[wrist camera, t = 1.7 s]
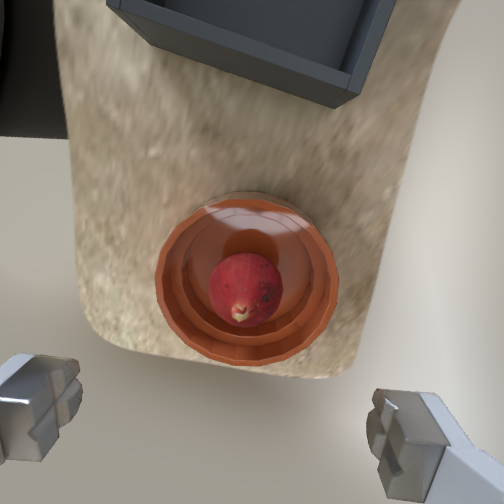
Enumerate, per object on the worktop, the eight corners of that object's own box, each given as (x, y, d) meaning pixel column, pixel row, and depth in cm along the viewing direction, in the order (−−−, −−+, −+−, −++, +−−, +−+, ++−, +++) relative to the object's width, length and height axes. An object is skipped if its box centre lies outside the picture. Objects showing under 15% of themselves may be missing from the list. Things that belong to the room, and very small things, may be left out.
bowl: (158, 311, 30) (139, 338, 25) (192, 168, 25) (177, 172, 21) (294, 352, 31) (299, 385, 26) (352, 220, 26) (369, 234, 22)
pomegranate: (274, 234, 26) (277, 269, 19) (286, 293, 28) (293, 347, 20) (209, 247, 27) (187, 285, 19) (225, 304, 29) (210, 359, 21)
